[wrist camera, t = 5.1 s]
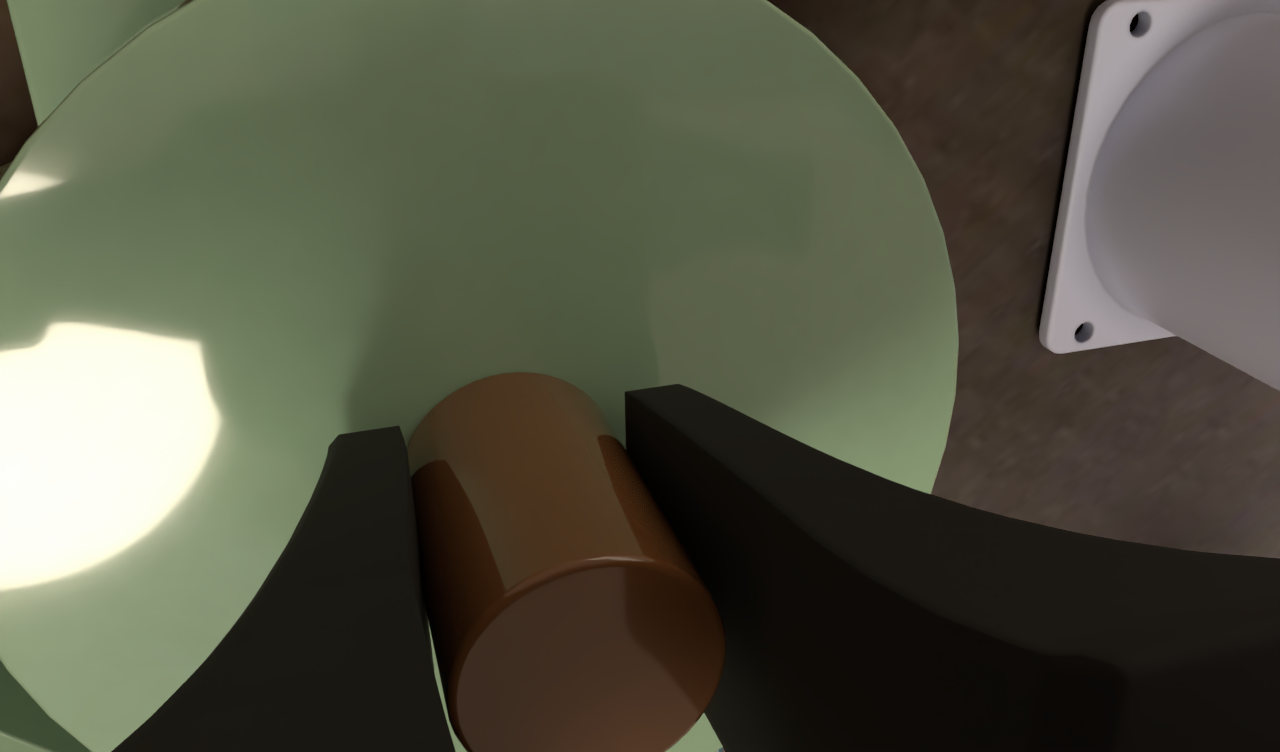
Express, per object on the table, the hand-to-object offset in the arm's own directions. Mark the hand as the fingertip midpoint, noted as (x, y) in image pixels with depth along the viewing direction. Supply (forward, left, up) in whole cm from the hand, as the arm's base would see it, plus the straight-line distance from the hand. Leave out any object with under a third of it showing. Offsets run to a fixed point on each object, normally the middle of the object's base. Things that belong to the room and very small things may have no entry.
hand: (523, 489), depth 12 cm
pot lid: (0, 0, -1) cm, 1 cm away
